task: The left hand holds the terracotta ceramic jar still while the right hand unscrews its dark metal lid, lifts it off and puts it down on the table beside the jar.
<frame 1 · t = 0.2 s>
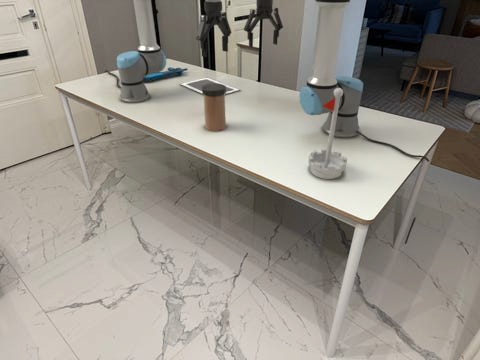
left hand: (215, 53, 153), 28 cm above the table, tool pointing down, fingers open, 13 cm apart
right hand: (263, 45, 167), 28 cm above the table, tool pointing down, fingers open, 13 cm apart
lid: (213, 87, 144), point 18 cm above the table, screwed on, not yet turned
flag stand: (325, 171, 121), on the table
jar: (215, 126, 154), on the table
tablet: (209, 87, 200), on the table
submachine gun: (160, 75, 222), on the table
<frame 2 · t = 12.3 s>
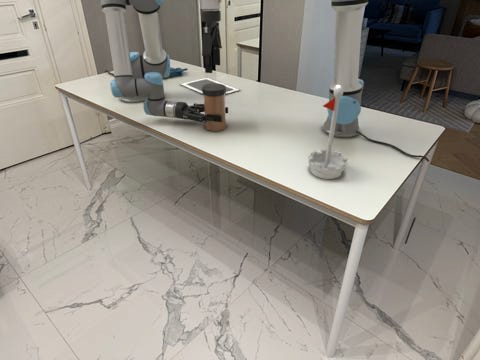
left hand: (224, 114, 149), 6 cm above the table, tool horizontal, fingers closed on jar, 9 cm apart
right hand: (213, 68, 139), 26 cm above the table, tool pointing down, fingers open, 11 cm apart
jar: (215, 126, 154), on the table, touching left hand
everything else where it was.
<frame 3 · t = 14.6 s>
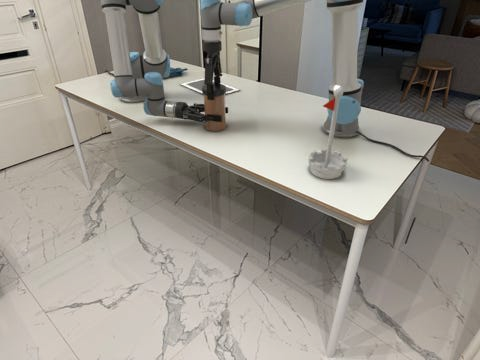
left hand: (224, 114, 149), 6 cm above the table, tool horizontal, fingers closed on jar, 9 cm apart
right hand: (214, 95, 146), 15 cm above the table, tool pointing down, fingers closed on lid, 10 cm apart
lid: (213, 87, 144), point 18 cm above the table, screwed on, not yet turned, touching right hand
jar: (215, 126, 154), on the table, touching left hand
everything else where it was.
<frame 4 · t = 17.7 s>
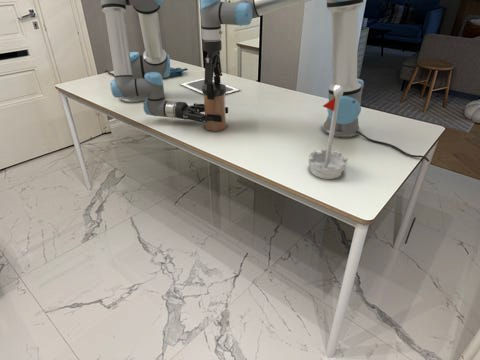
left hand: (224, 114, 149), 6 cm above the table, tool horizontal, fingers closed on jar, 9 cm apart
right hand: (214, 95, 146), 15 cm above the table, tool pointing down, fingers closed on lid, 10 cm apart
lid: (213, 87, 144), point 18 cm above the table, turned 76° so far, risen 0.2 cm, still on its thread, touching right hand
jar: (215, 126, 154), on the table, touching left hand
everything else where it was.
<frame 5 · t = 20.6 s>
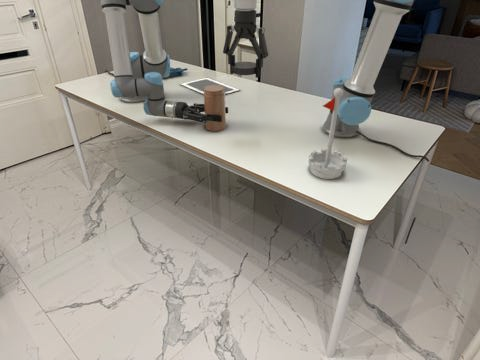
left hand: (224, 114, 149), 6 cm above the table, tool horizontal, fingers closed on jar, 9 cm apart
right hand: (245, 75, 128), 27 cm above the table, tool pointing down, fingers closed on lid, 10 cm apart
lid: (245, 65, 126), point 30 cm above the table, off its thread, touching right hand
jar: (215, 126, 154), on the table, touching left hand
everything else where it was.
when the right hand's fingers open (0 cm above the table, at t = 23.6 s): lid drops 2 cm, point 2 cm above the table.
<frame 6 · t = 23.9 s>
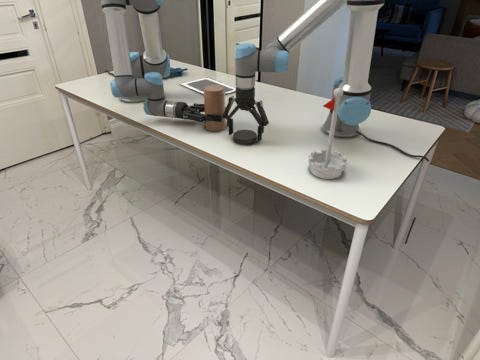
left hand: (224, 114, 149), 6 cm above the table, tool horizontal, fingers closed on jar, 9 cm apart
right hand: (245, 137, 142), 1 cm above the table, tool pointing down, fingers open, 13 cm apart
lid: (244, 135, 141), point 2 cm above the table, off its thread
jar: (215, 126, 154), on the table, touching left hand
everything else where it was.
when the left hand's fingers open (6 cm above the table, at t = 24.7 s): jar stays where it is, on the table.
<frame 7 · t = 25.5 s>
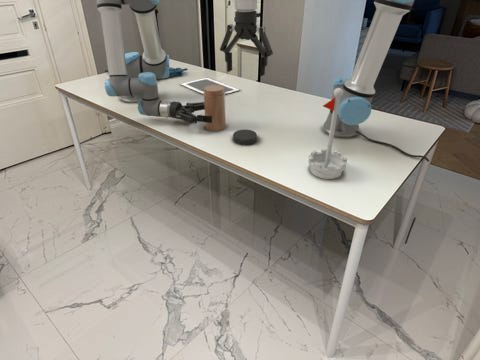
left hand: (216, 113, 150), 6 cm above the table, tool horizontal, fingers open, 13 cm apart
right hand: (245, 73, 127), 28 cm above the table, tool pointing down, fingers open, 13 cm apart
jar: (215, 126, 154), on the table
everything else where it was.
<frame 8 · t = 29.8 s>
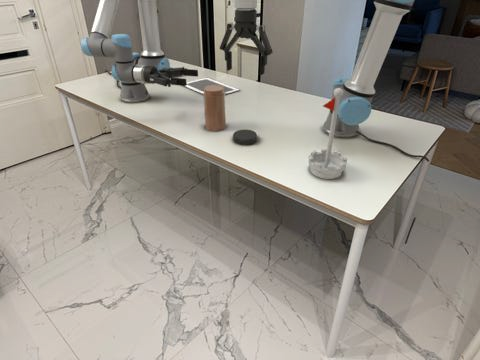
left hand: (192, 77, 144), 22 cm above the table, tool horizontal, fingers open, 13 cm apart
right hand: (245, 71, 127), 28 cm above the table, tool pointing down, fingers open, 13 cm apart
nothing on the table moved.
at the end: lid came off its thread; lid point 2.1 cm above the table; the left hand is holding nothing; the right hand is holding nothing; jar tilted 0°; jar moved 0.0 cm from its start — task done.
